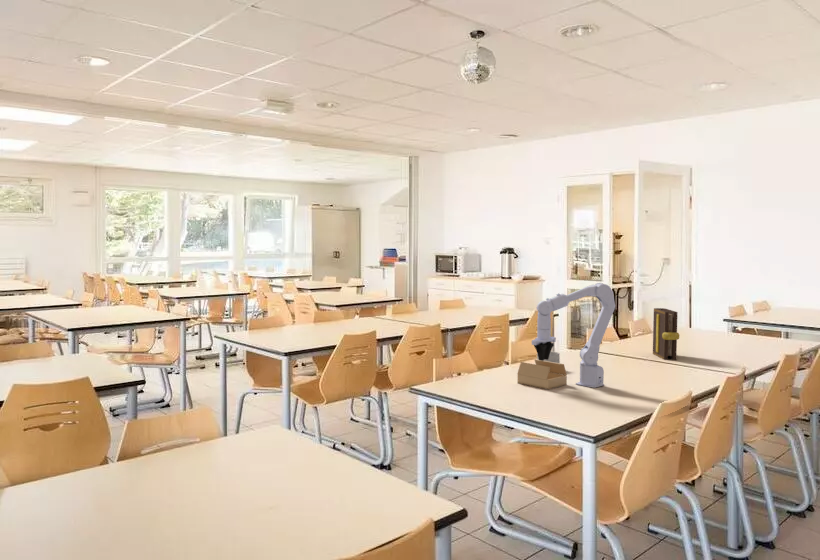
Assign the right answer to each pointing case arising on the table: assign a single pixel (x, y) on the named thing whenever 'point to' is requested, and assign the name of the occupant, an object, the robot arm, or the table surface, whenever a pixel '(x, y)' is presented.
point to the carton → (544, 381)
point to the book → (665, 333)
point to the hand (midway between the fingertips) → (543, 359)
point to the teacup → (553, 357)
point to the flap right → (552, 366)
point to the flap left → (533, 370)
